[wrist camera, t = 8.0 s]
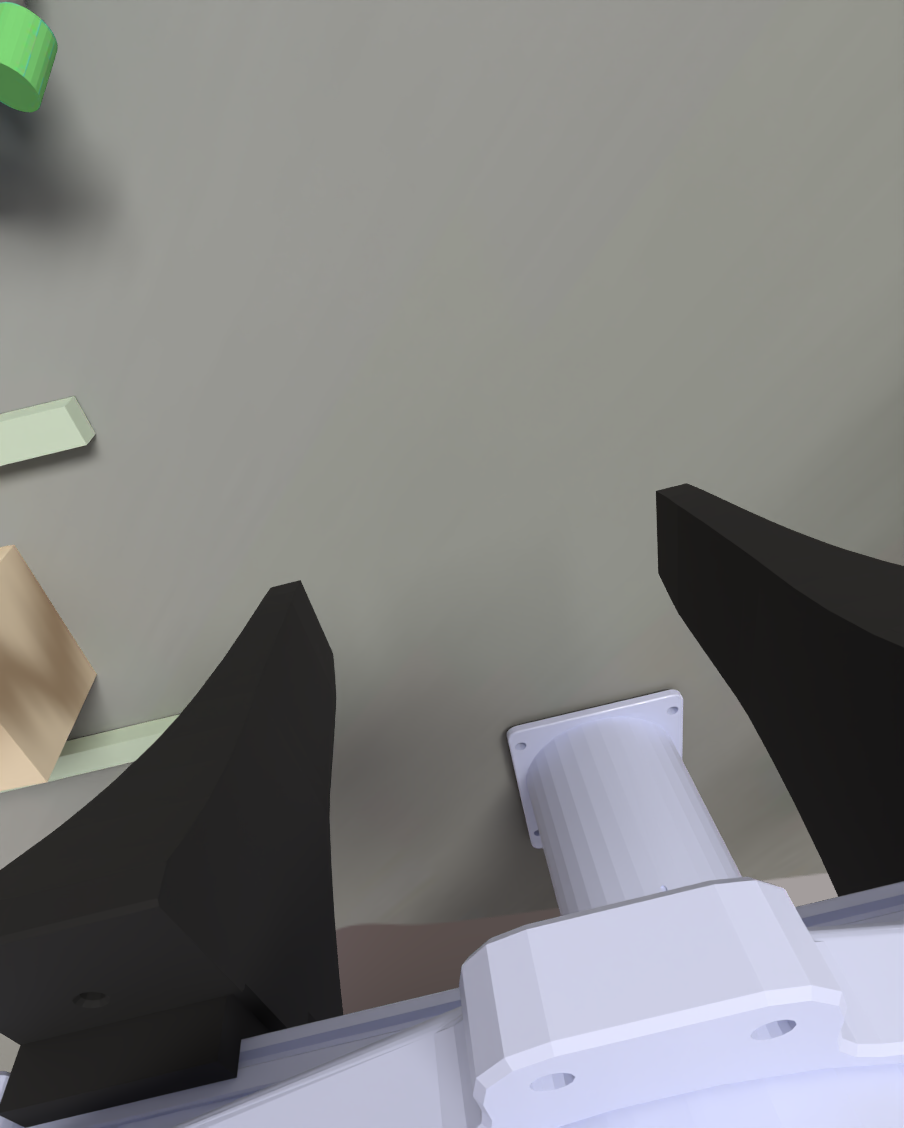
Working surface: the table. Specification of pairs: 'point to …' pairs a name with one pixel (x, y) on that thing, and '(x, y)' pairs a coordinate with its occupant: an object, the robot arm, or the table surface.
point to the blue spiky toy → (24, 56)
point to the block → (35, 677)
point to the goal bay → (39, 436)
